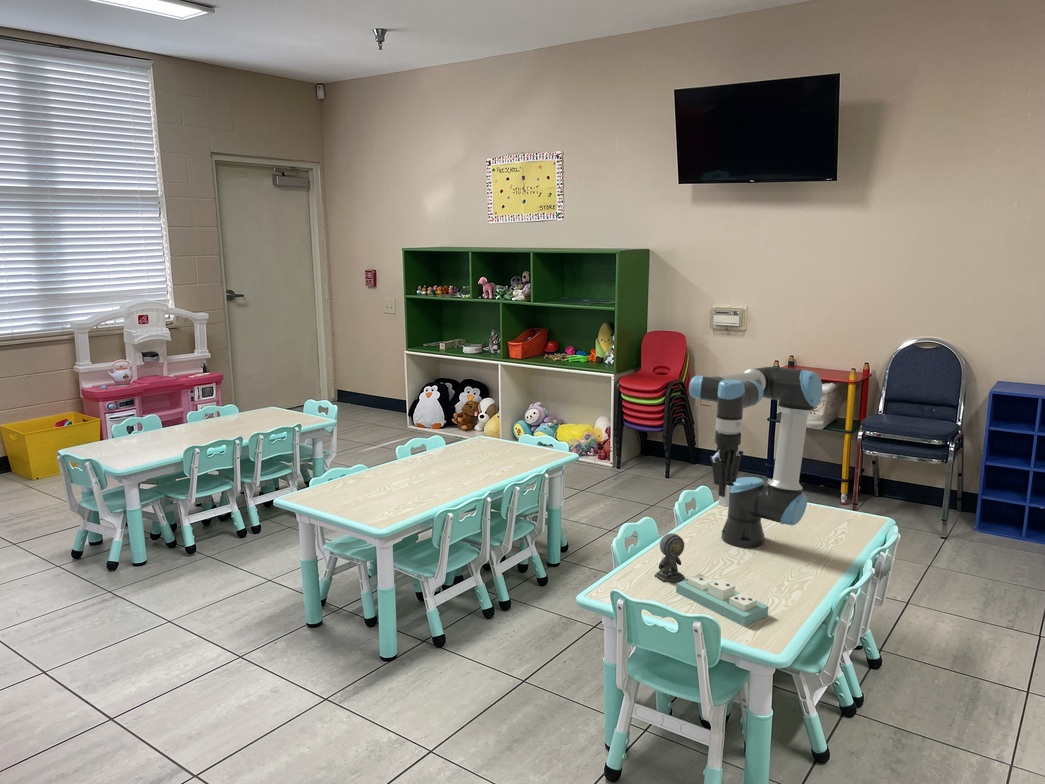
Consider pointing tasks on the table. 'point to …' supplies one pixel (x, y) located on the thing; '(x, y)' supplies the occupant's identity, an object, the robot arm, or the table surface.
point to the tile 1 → (699, 582)
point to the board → (722, 605)
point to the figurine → (670, 558)
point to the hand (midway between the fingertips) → (723, 505)
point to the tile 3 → (742, 602)
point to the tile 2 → (721, 590)
